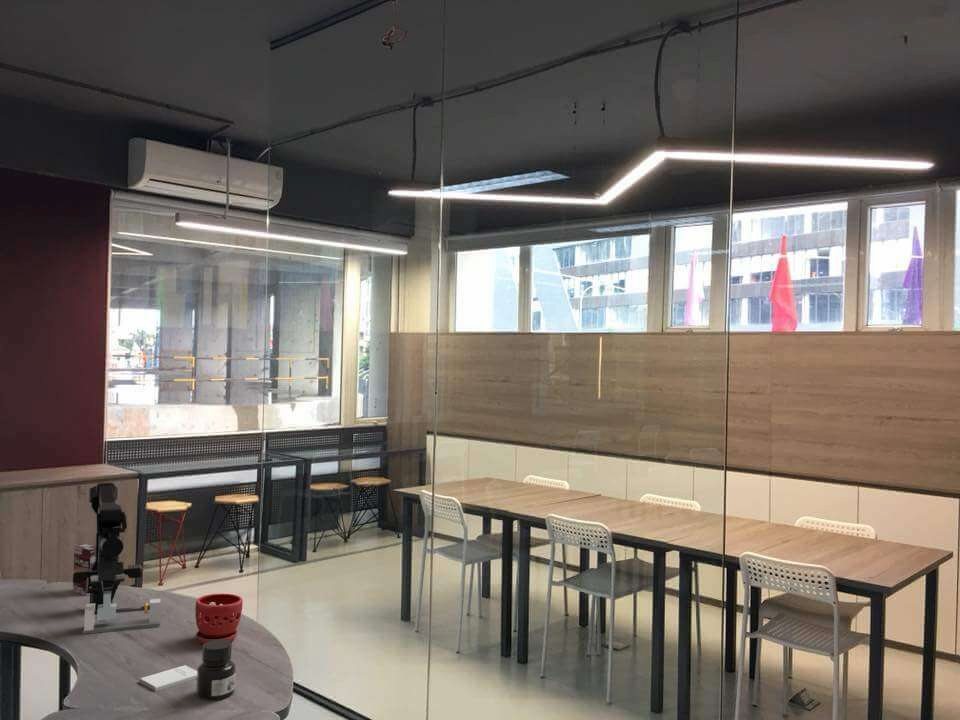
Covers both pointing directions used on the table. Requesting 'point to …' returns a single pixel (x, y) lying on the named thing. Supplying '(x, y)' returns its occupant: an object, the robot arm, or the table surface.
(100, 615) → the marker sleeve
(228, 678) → the ink bottle
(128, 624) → the grey slide rail
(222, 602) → the plant pot
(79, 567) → the supplement box
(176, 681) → the external hard drive
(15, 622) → the table surface
